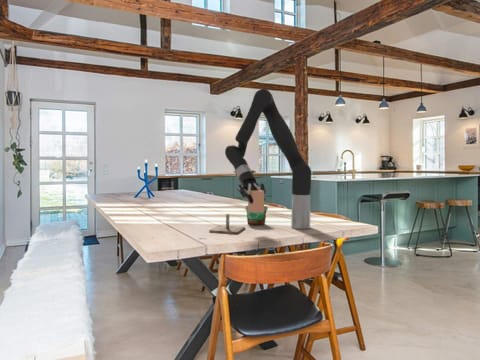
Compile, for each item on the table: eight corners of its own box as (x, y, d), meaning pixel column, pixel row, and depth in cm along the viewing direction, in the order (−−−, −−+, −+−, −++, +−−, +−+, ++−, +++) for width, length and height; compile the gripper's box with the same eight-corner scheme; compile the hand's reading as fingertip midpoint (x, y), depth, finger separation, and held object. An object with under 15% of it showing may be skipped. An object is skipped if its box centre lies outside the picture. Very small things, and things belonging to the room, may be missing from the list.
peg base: (245, 229, 175) (245, 212, 175) (237, 234, 163) (237, 216, 162) (218, 227, 179) (218, 211, 179) (209, 232, 167) (209, 215, 166)
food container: (242, 225, 185) (242, 206, 184) (245, 223, 191) (245, 205, 190) (265, 226, 182) (265, 207, 181) (267, 224, 188) (267, 205, 187)
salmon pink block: (258, 210, 170) (257, 189, 170) (264, 211, 165) (264, 190, 165) (248, 211, 168) (247, 190, 167) (253, 212, 163) (253, 191, 162)
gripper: (235, 171, 168) (247, 198, 159) (260, 170, 175) (273, 196, 165) (230, 181, 173) (241, 208, 164) (255, 180, 180) (268, 205, 170)
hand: (257, 201), depth 165 cm, fingers closed on salmon pink block, 5 cm apart
